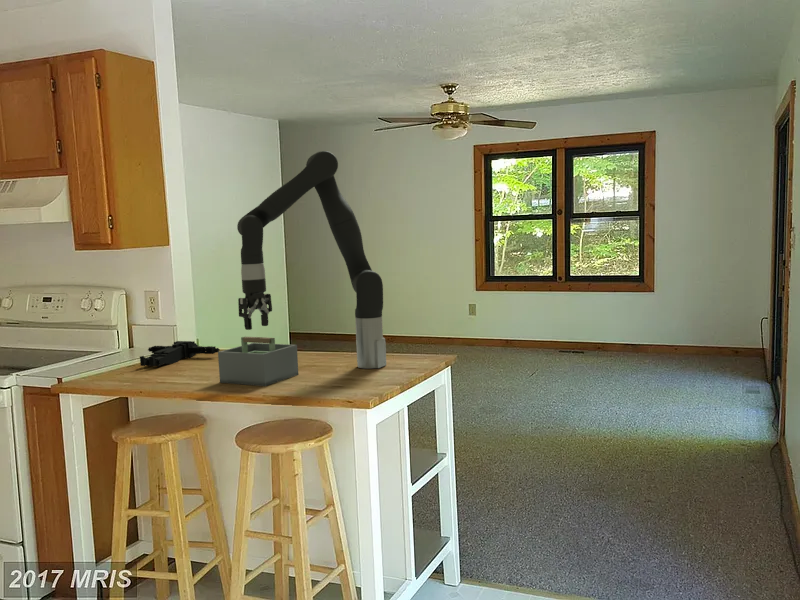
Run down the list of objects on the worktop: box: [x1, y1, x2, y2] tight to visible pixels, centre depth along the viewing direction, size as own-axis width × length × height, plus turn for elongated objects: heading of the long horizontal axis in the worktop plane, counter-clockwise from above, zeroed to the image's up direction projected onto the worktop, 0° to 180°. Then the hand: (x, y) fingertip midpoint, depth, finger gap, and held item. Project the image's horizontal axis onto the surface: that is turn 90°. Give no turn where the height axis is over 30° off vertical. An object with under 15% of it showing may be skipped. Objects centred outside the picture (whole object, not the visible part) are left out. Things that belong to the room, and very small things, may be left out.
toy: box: [139, 340, 221, 367], centre depth 272 cm, size 31×6×30 cm
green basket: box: [240, 336, 276, 354], centre depth 233 cm, size 12×11×12 cm
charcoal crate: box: [217, 342, 299, 387], centre depth 234 cm, size 18×18×10 cm
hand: (257, 327), depth 232 cm, fingers open, 8 cm apart
